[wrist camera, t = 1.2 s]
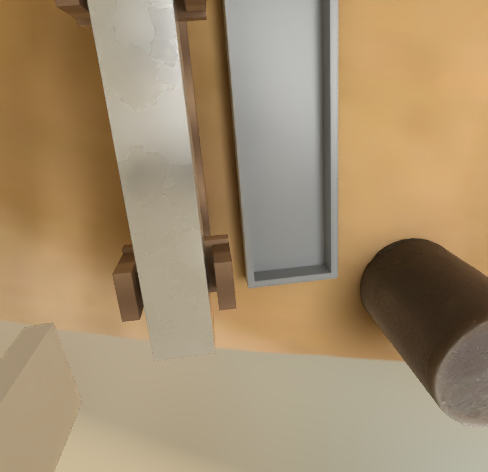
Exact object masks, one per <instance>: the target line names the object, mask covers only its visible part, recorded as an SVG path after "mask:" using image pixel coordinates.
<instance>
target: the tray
mask: <svg viewBox="0 0 488 472" xmlns="http://www.w3.org/2000/svg"><path fill="white" fill-rule="evenodd" d="M222 4H223V15H224V27H225V39H226V51H227V63H228V74H229V86H230V98H231V110H232V122H233V133H234V145H235V157H236V169H237V181H238V192H239V204H240V216H241V228H242V240H243V251H244V263H245V275H246V280H247V284H248V288H255V287H264V286H273V285H281V284H290V283H299V282H307V281H316V280H325V279H333V278H338V0H222Z"/></svg>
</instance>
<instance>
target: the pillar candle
mask: <svg viewBox="0 0 488 472" xmlns="http://www.w3.org/2000/svg"><path fill="white" fill-rule="evenodd" d="M360 294H361V299H362V302H363V304H364V307H365V308H366V310H367V311H368V313H369V314H370V315H371V317H372V318H373V319H374V321H375V322H376V323H377V325H378V326H379V327H380V329H381V330H382V331H383V333H384V334H385V335H386V337H387V338H388V339H389V340H390V342H391V343H392V344H393V346H394V347H395V349H396V350H397V351H398V353H399V354H400V355H401V356H402V358H403V359H404V361H405V362H406V363H407V365H408V366H409V367H410V368H411V370H412V371H413V372H414V374H415V375H416V376H417V378H418V379H419V381H420V382H421V383H422V384H423V386H424V387H425V388H426V390H427V391H428V393H430V395H431V396H432V398H433V399H434V400H435V402H436V403H437V405H438V406H439V407H440V408H441V409H442V411H444V413H446V414H447V415H448V416H449V417H450V418H452V419H454V420H455V421H458V422H460V423H461V424H462V425H464V426H472V427H483V426H488V277H487V276H485V275H484V274H482V273H481V272H480V271H478V270H477V269H475V268H474V267H472V266H470V265H469V264H467V263H466V262H464V261H463V260H461V259H460V258H458V257H457V256H455V255H454V254H452V253H450V252H449V251H448V250H446V249H445V248H443V247H442V246H440V245H438V244H436V243H433V242H431V241H428V240H423V239H410V240H409V239H408V240H407V239H406V240H402V241H399V242H396V243H394V244H392V245H390V246H388V247H386V248H384V249H383V250H381V251H380V252H379V253H378V254H377V255H376V256H375V257H374V258H373V260H372V261H371V262H370V264H369V265H368V266H367V268H366V270H365V272H364V274H363V277H362V281H361V293H360Z"/></svg>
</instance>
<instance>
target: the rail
mask: <svg viewBox="0 0 488 472" xmlns="http://www.w3.org/2000/svg"><path fill="white" fill-rule="evenodd" d="M87 2H88V7H89V13H90V18H91V23H92V29H93V34H94V40H95V45H96V50H97V56H98V61H99V67H100V72H101V77H102V83H103V88H104V94H105V99H106V104H107V110H108V115H109V121H110V126H111V131H112V137H113V142H114V148H115V153H116V158H117V164H118V169H119V175H120V180H121V185H122V191H123V196H124V202H125V207H126V212H127V218H128V223H129V229H130V234H131V239H132V245H133V250H134V256H135V261H136V266H137V272H138V277H139V283H140V288H141V293H142V299H143V304H144V310H145V315H146V320H147V326H148V331H149V337H150V342H151V347H152V353H153V358H154V361H160V360H167V359H176V358H184V357H192V356H199V355H207V354H215V333H214V318H213V309H212V301H211V293H210V284H209V276H208V268H207V259H206V251H205V242H204V234H203V226H202V217H201V209H200V201H199V192H198V184H197V175H196V167H195V159H194V150H193V142H192V134H191V125H190V117H189V108H188V100H187V92H186V83H185V75H184V67H183V58H182V50H181V41H180V33H179V25H178V16H177V8H176V0H87Z"/></svg>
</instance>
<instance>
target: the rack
mask: <svg viewBox="0 0 488 472" xmlns="http://www.w3.org/2000/svg"><path fill="white" fill-rule="evenodd" d="M55 2H56V7H58V8H60V9H61V10H63V11H64V12H66V13H68V14H69V15H71V16H72V17H74V18H76V19H77V23H78V26H79V27H81V28H92V23H91V18H90V13H89V7H88V2H87V0H55ZM176 8H177V16H178V25H179V33H180V41H181V50H182V58H183V67H184V75H185V83H186V92H187V100H188V108H189V117H190V125H191V134H192V142H193V150H194V159H195V167H196V175H197V184H198V192H199V201H200V209H201V217H202V226H203V234H204V242H205V251H206V259H207V268H208V276H209V284H210V292H217V294H218V303H219V310H226V309H235V308H236V300H235V289H234V279H233V268H232V260H231V254H230V248H229V242H228V235H227V234H226V235H217V236H210V228H209V219H208V211H207V202H206V193H205V184H204V175H203V166H202V158H201V149H200V140H199V131H198V122H197V114H196V105H195V96H194V87H193V78H192V69H191V61H190V52H189V43H188V34H187V25H186V21H196V20H206V0H176ZM122 253H123V255H122V257H121V259H120V261H119V263H118V265H117V267H116V269H115V271H114V272H113V274H112V275H113V280H114V285H115V289H116V294H117V299H118V304H119V308H120V313H121V318H122V322H125V321H134V320H140V318H141V314H142V311H143V307H144V304H143V299H142V293H141V288H140V283H139V277H138V272H137V266H136V261H135V256H134V250H133V245H124V247H123V249H122Z"/></svg>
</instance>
